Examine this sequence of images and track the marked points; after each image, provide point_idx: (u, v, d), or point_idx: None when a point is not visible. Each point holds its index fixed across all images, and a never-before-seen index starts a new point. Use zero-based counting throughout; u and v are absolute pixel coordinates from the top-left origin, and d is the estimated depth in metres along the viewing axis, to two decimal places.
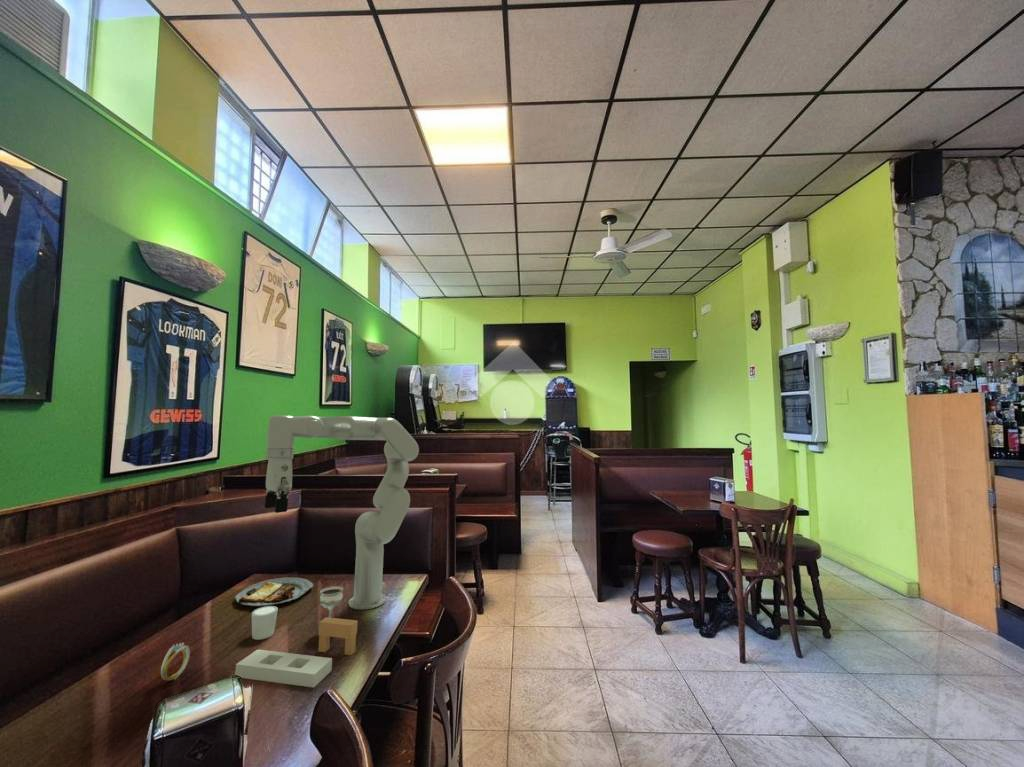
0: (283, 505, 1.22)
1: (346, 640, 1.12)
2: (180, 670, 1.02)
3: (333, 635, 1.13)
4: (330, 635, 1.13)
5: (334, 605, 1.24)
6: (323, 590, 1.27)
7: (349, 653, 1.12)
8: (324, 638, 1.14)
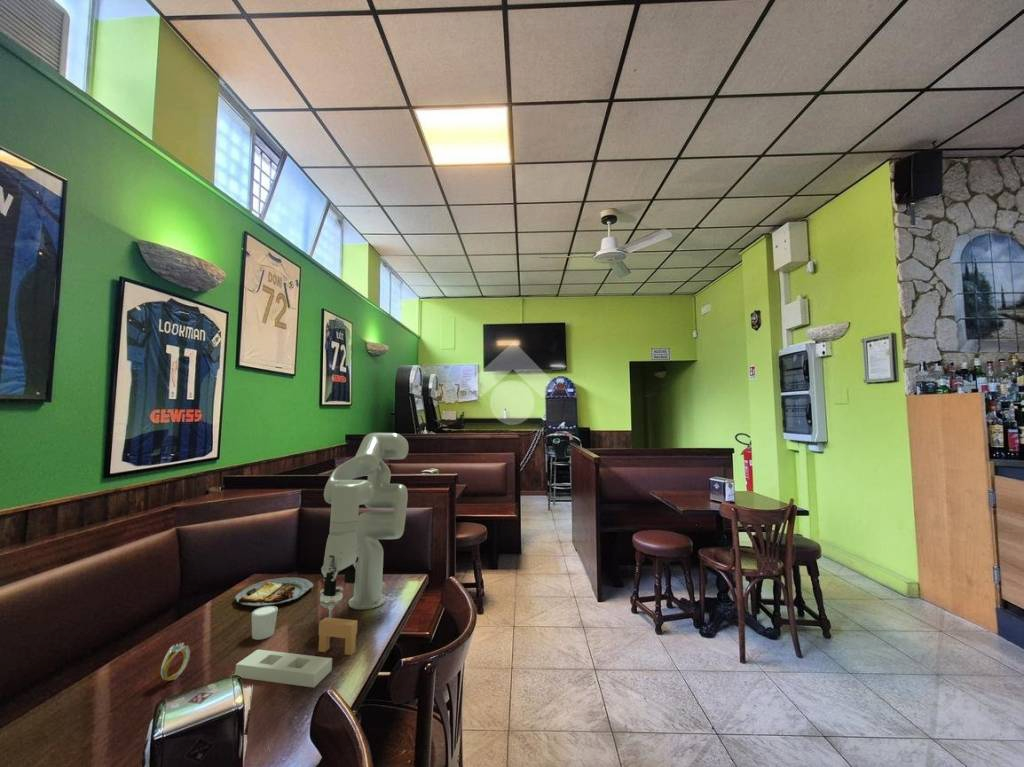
0: None
1: (346, 640, 1.12)
2: (180, 670, 1.02)
3: (333, 635, 1.13)
4: (330, 635, 1.13)
5: (334, 605, 1.24)
6: (323, 590, 1.27)
7: (349, 653, 1.12)
8: (324, 638, 1.14)
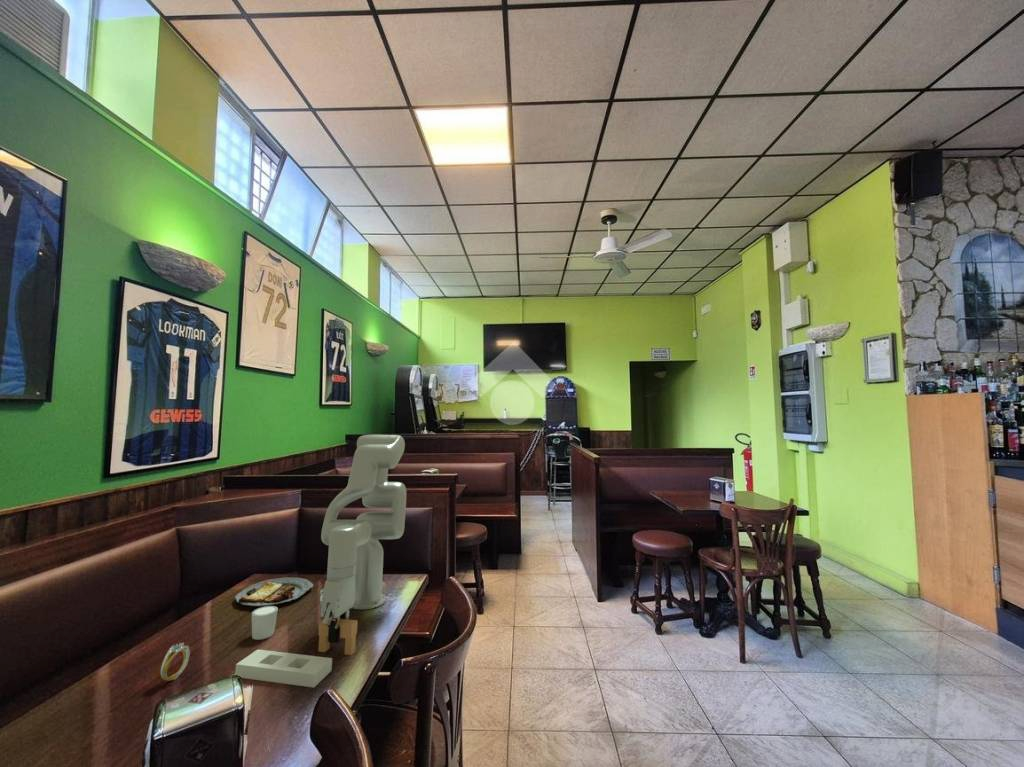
0: None
1: (346, 639, 1.12)
2: (180, 670, 1.02)
3: None
4: None
5: None
6: (323, 590, 1.27)
7: (349, 653, 1.12)
8: (324, 638, 1.14)
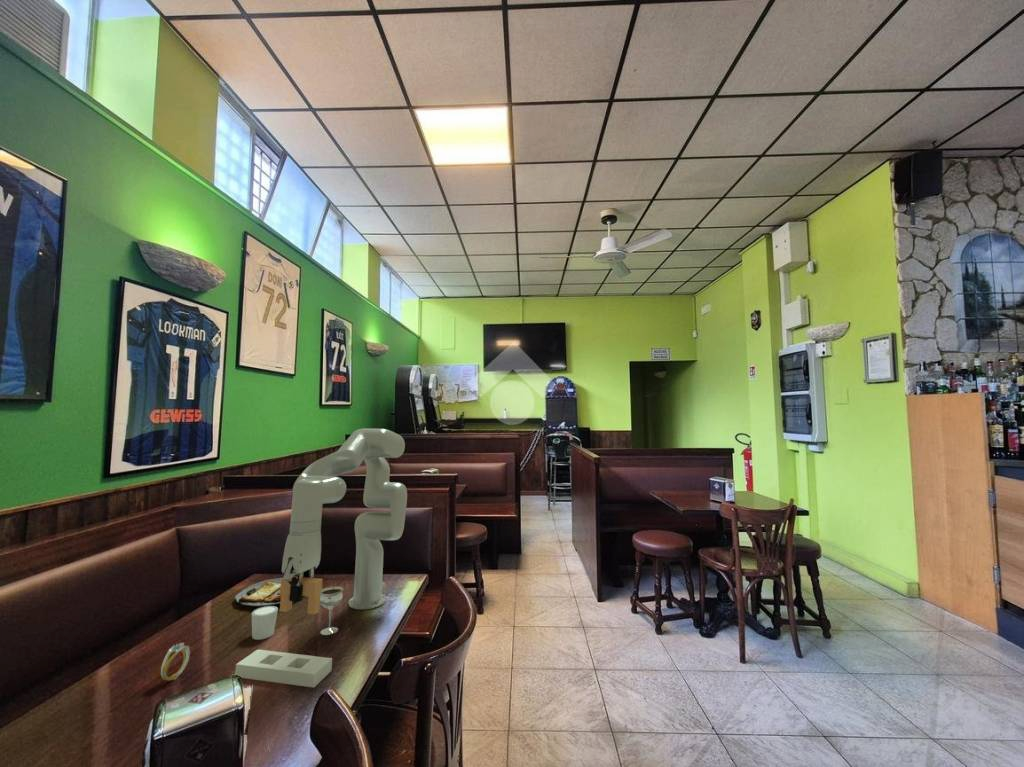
0: None
1: (309, 598, 1.05)
2: (180, 670, 1.02)
3: None
4: None
5: (334, 605, 1.24)
6: (323, 590, 1.27)
7: (312, 612, 1.05)
8: (285, 597, 1.06)
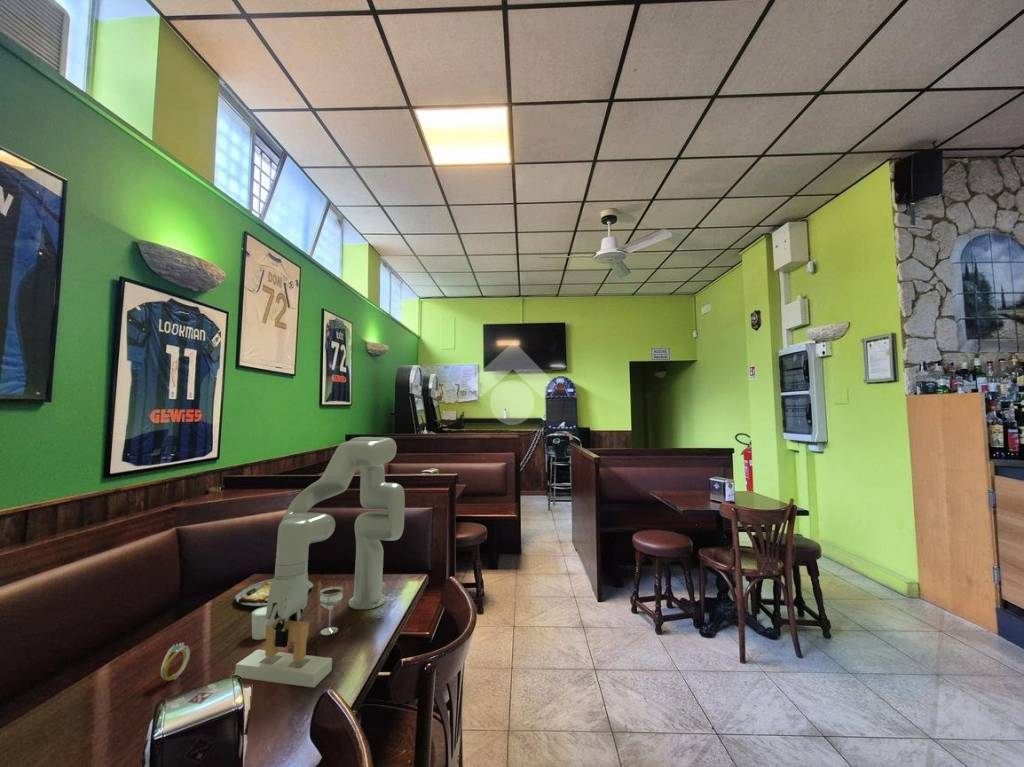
0: None
1: (295, 643, 1.02)
2: (180, 670, 1.02)
3: None
4: None
5: (334, 605, 1.24)
6: (323, 590, 1.27)
7: (298, 658, 1.02)
8: (271, 641, 1.03)
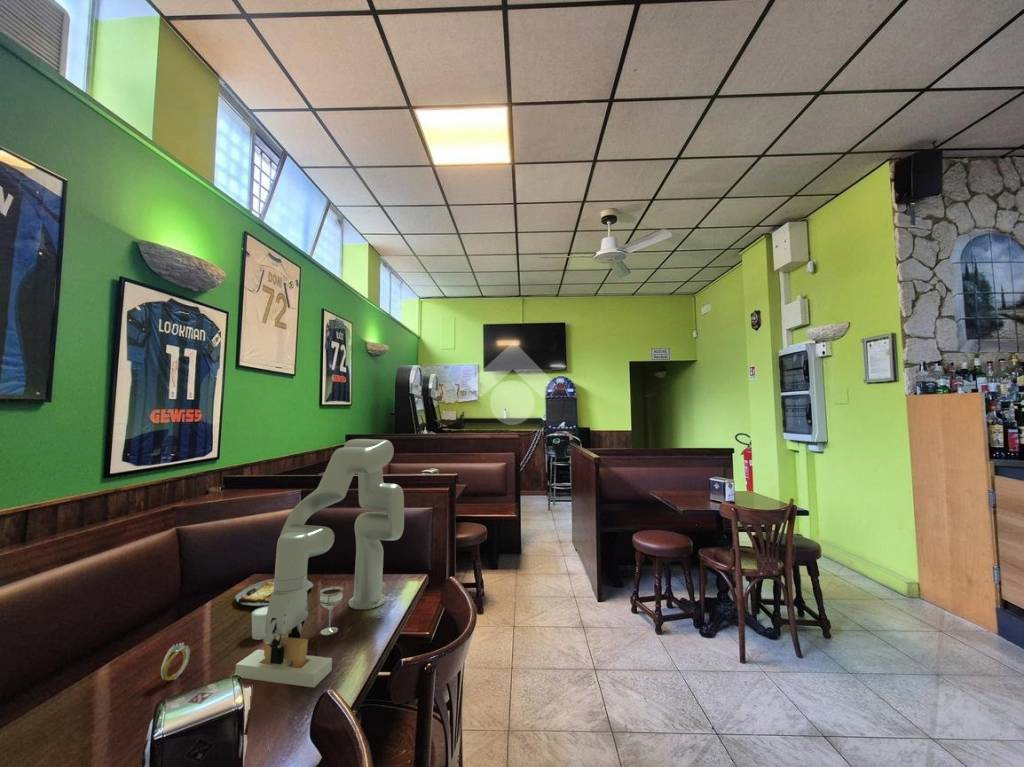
0: None
1: (294, 661, 1.02)
2: (180, 670, 1.02)
3: None
4: None
5: (334, 605, 1.24)
6: (323, 590, 1.27)
7: None
8: None
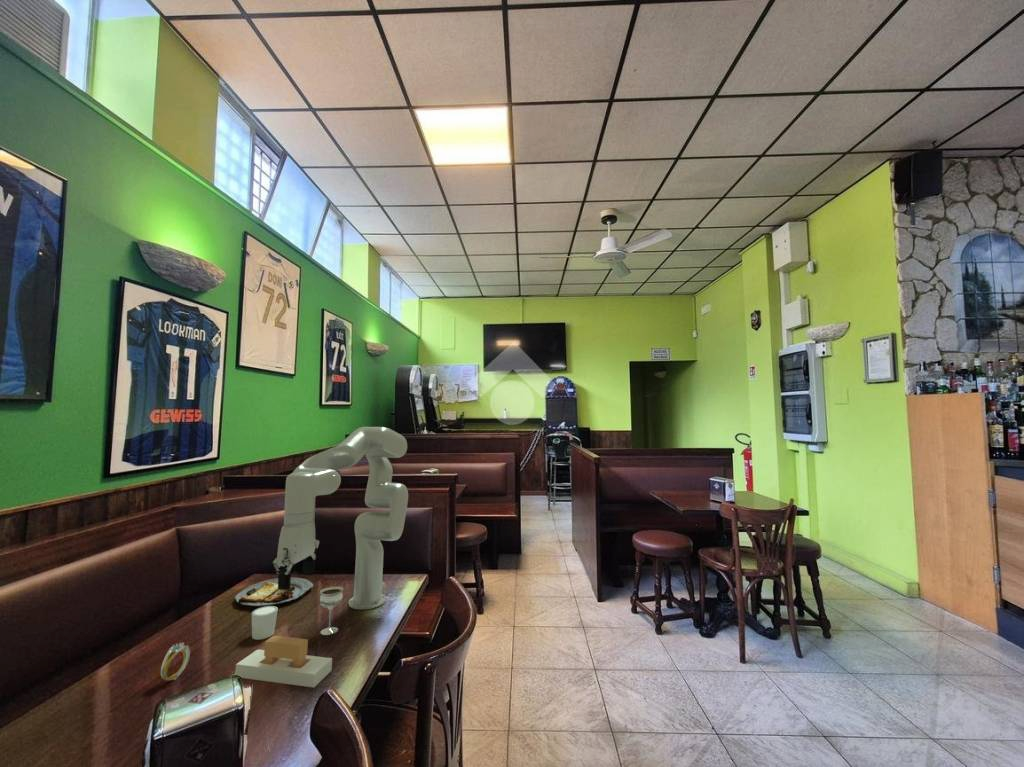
0: None
1: (294, 661, 1.02)
2: (180, 670, 1.02)
3: (280, 656, 1.02)
4: (277, 656, 1.02)
5: (334, 605, 1.24)
6: (323, 590, 1.27)
7: None
8: (270, 659, 1.03)
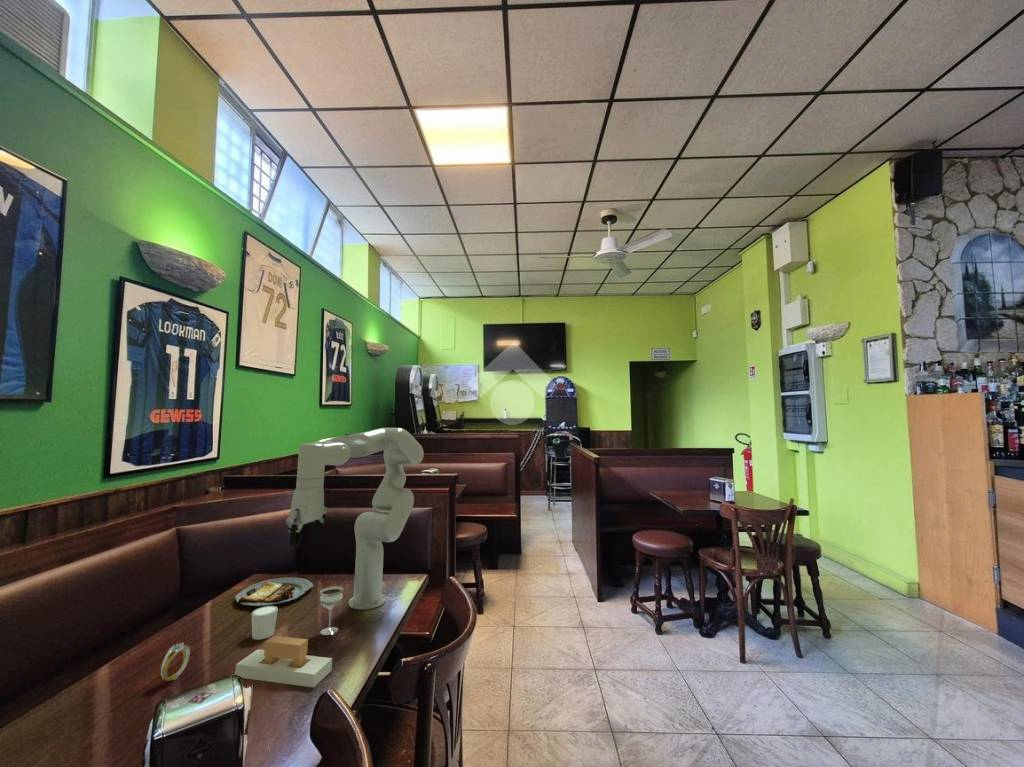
0: None
1: (294, 661, 1.02)
2: (180, 670, 1.02)
3: (280, 656, 1.02)
4: (277, 656, 1.02)
5: (334, 605, 1.24)
6: (323, 590, 1.27)
7: None
8: (270, 659, 1.03)
